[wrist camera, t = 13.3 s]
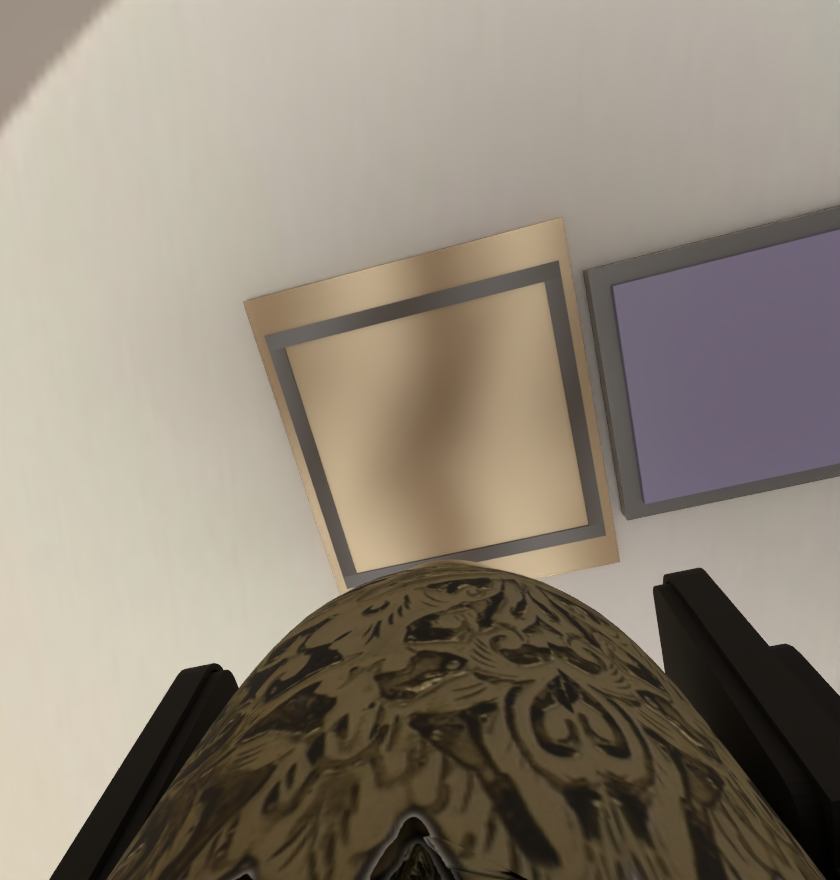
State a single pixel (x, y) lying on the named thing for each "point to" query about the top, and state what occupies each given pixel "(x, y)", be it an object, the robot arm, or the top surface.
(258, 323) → the board
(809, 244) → the ink pad
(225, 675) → the robot arm
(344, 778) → the cup
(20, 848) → the top surface
